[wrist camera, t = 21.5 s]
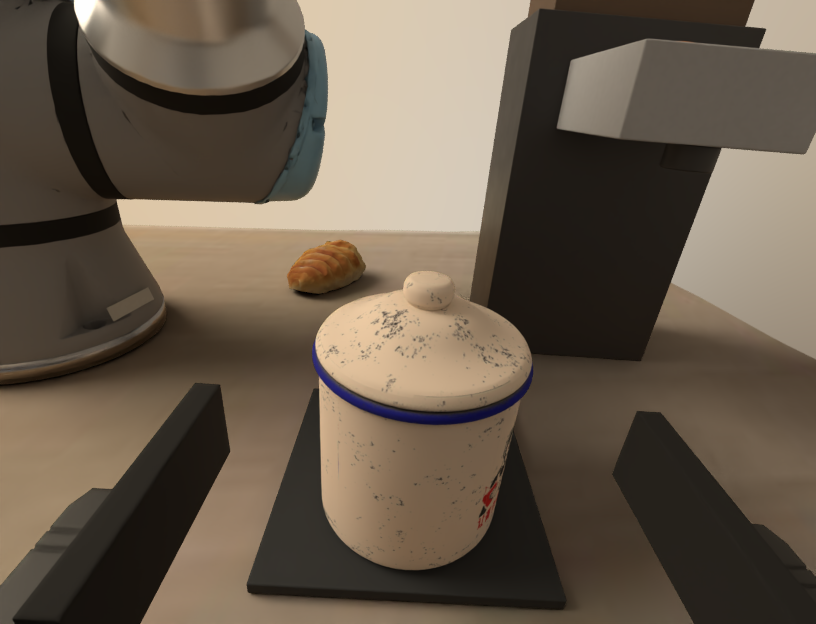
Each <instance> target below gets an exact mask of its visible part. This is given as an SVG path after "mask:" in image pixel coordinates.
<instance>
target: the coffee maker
mask: <svg viewBox="0 0 816 624" xmlns="http://www.w3.org/2000/svg"><path fill="white" fill-rule="evenodd" d="M753 3H754V0H531V2H530V7H529V14H528V18H526V19H525V20H524V21H522V22H521V23H520V24H518V25H517V26H516V27H515V28H513V29H512V30H511V35H510V42H509V48H508V55H507V61H506V67H505V75H504V81H503V87H502V93H501V101H500V107H499V113H498V120H497V126H496V133H495V139H494V146H493V152H492V159H491V165H490V172H489V178H488V185H487V192H486V198H485V205H484V211H483V217H482V224H481V230H480V237H479V243H478V250H477V256H476V263H475V269H474V276H473V282H472V289H471V296H470V302H473V303H476V304H478V305H481V306H483V307H486V308H488V309H490V310H492V311H494V312H495V313H497V314H499V315H500V316H502V317H504V318H505V319H506V320H508V321H509V322H510V323H511V324H512V325H514V326H515V327H516V328H517V329H518V331H519V332H520V333H521V334H522V336H523V337H524V339H525V340H526V342H527V344H528V347H529V349H530V352H531V353H535V354H550V355H564V356H579V357H594V358H608V359H623V360H638V361H641V359H642V357H643V354H644V351H645V349H646V346H647V344H648V341H649V338H650V336H651V333H652V330H653V328H654V325H655V322H656V320H657V317H658V314H659V312H660V309H661V306H662V304H663V301H664V299H665V296H666V293H667V291H668V288H669V285H670V283H671V280H672V277H673V275H674V272H675V269H676V267H677V264H678V261H679V258H680V256H681V254H682V251H683V248H684V246H685V243H686V240H687V238H688V235H689V232H690V230H691V227H692V224H693V222H694V219H695V216H696V214H697V211H698V208H699V206H700V203H701V201H702V198H703V195H704V193H705V190H706V187H707V185H708V182H709V179H710V177H711V174H712V172H713V170H714V167H715V164H716V162H717V159H718V156H719V154H720V151H721V148H731V149H743V150H755V151H768V152H780V153H792V154H805V153H806V152H807V150H808V148H809V145H810V143H811V141H812V139H813V137H814V135H815V133H816V53H806V52H794V51H783V50H772V49H760V48H759V47H760V44H761V42H762V39H763V36H764V34H765V31H766V29H764V28H754V27H745V25H746V23H747V20H748V17H749V14H750V12H751V9H752V6H753Z"/></svg>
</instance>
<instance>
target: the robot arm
mask: <svg viewBox="0 0 816 624" xmlns="http://www.w3.org/2000/svg"><path fill="white" fill-rule="evenodd" d="M327 98H328V74H327V63H326V56H325V50H324V47H323V44H322V42H321V40H320V39H319V37H318V36H316V35H315V34H313V33H309V32H308V31H307V30H305V25H304V19H303V15H302V12H301V9H300V7H299V5H298V3H297V0H0V385H1V384H13V383H21V382H29V381H35V380H41V379H46V378H51V377H56V376H60V375H64V374H68V373H72V372H76V371H79V370H82V369H86V368H89V367H92V366H95V365H98V364H101V363H103V362H106V361H108V360H111V359H113V358H116V357H118V356H120V355H122V354H124V353H126V352H128V351H130V350H132V349H134V348H136V347H138V346H139V345H141V344H142V343H144V342H145V341H147V340H148V339H150V338H151V337H152V336H153V335H155V334H156V333H157V332H158V331H159V330H160V328H161V327H162V326H163V324H164V323H165V320H166V317H167V311H166V306H165V301H164V296H163V294H162V292H161V289H160V287H159V285H158V283H157V282H156V280H155V279H154V277H153V276H152V274H151V272H150V271H149V269H148V268H147V266H146V264H145V263H144V261H143V260H142V258H141V256H140V255H139V253H138V252H137V250H136V248H135V247H134V245H133V244H132V242H131V241H130V239H129V237H128V236H127V234H126V233H125V231H124V228H123V226H122V222H121V218H120V214H119V210H118V205H117V201H116V199H148V200H149V199H150V200H151V199H152V200H180V201H213V202H246V203H255V204H264V203H267V202H269V201H292V200H298V199H300V198H302V197H304V196H305V195H306V194H308V193H309V191H310V190H311V189H312V187H313V185H314V183H315V181H316V178H317V175H318V171H319V168H320V163H321V158H322V153H323V146H324V138H325V137H324V136H325V131H324V122H325V119H326V112H327V101H328V99H327ZM229 453H230V447H229V440H228V434H227V427H226V420H225V414H224V407H223V400H222V394H221V387H220V385H218V384H203V383H195V384H194V385H193V386H192V388H191V389H190V390H189V392H188V393H187V394H186V395H185V397H184V398H183V399H182V401H181V402H180V403H179V404H178V406H177V407H176V408H175V410H174V411H173V412H172V413H171V415H170V416H169V417H168V419H167V420H166V421H165V422H164V424H163V425H162V426H161V428H160V429H159V430H158V431H157V433H156V434H155V435H154V437H153V438H152V439H151V440H150V442H149V443H148V444H147V446H146V447H145V448H144V449H143V451H142V452H141V453H140V455H139V456H138V457H137V458H136V460H135V461H134V462H133V464H132V465H131V466H130V467H129V469H128V470H127V471H126V473H125V474H124V475H123V476H122V478H121V479H120V480H119V482H118V483H117V484H116V485H115V487H114V488H113V489H99V488H92V489H91V490H90V491H88V492H87V493H85V494H84V495H83V496H81V497H80V498H79V499H77V500H76V501H74V502H73V503H72V504H70V505H69V506H68V507H67V508H66V509H65V511H64V512H63V513H62V514H61V515H60V516H59V518H58V519H57V520H56V521H55V522H54V523H53V525H52V526H51V528H50V531H47V532H46V533H45V534H44V535H43V536H42V538H41V539H40V540H39V541H38V542H37V543H36V545H35V548H34V549H31V550H30V552H29V553H28V554H27V555H26V556H25V557H24V559H23V560H22V561H21V562H20V563H19V564H18V566H17V567H16V568H15V569H14V570H13V571H12V573H11V574H10V575H9V576H8V577H7V578H6V580H5V581H4V582H3V583H2V584H1V585H0V624H140V623H141V621H142V619H143V617H144V615H145V614H146V612H147V610H148V608H149V606H150V604H151V602H152V600H153V598H154V596H155V594H156V593H157V591H158V589H159V587H160V585H161V583H162V581H163V579H164V577H165V575H166V573H167V571H168V570H169V568H170V566H171V564H172V562H173V560H174V558H175V556H176V554H177V552H178V550H179V548H180V547H181V545H182V543H183V541H184V539H185V537H186V535H187V533H188V531H189V529H190V527H191V525H192V524H193V522H194V520H195V518H196V516H197V514H198V512H199V510H200V508H201V506H202V504H203V502H204V501H205V499H206V497H207V495H208V493H209V491H210V489H211V487H212V485H213V483H214V481H215V479H216V478H217V476H218V474H219V472H220V470H221V468H222V466H223V464H224V462H225V460H226V458H227V456H228V455H229ZM612 475H613V477H614V478H615V480H616V482H617V484H618V486H619V487H620V489H621V491H622V493H623V495H624V497H625V498H626V500H627V502H628V504H629V506H630V508H631V509H632V511H633V513H634V515H635V517H636V519H637V520H638V522H639V524H640V526H641V528H642V529H643V531H644V533H645V535H646V537H647V539H648V540H649V542H650V544H651V546H652V548H653V550H654V551H655V553H656V555H657V557H658V559H659V561H660V562H661V564H662V566H663V568H664V570H665V571H666V573H667V575H668V577H669V579H670V581H671V582H672V584H673V586H674V588H675V590H676V592H677V593H678V595H679V597H680V599H681V601H682V603H683V604H684V606H685V608H686V610H687V612H688V613H689V615H690V617H691V619H692V621H693V623H694V624H816V577H815V576H814V575H813V573H812V572H811V571H808V570H807V569H806V565H805V564H804V563H803V562H802V561H801V559H800V558H799V557H798V556H797V555H796V554H795V552H794V551H793V550H792V549H791V548H790V547H789V545H788V544H787V543H785V542H784V541H783V540H782V539H780V538H779V537H778V536H777V535H775V534H774V533H773V532H772V531H770V530H769V529H768V528H767V527H765V526H764V525H759V524H751V523H750V521H749V520H748V519H747V518H746V517H745V515H744V514H743V513H742V512H741V510H740V509H739V508H738V507H737V505H736V504H735V503H734V502H733V501H732V499H731V498H730V497H729V496H728V494H727V493H726V492H725V491H724V490H723V488H722V487H721V486H720V485H719V483H718V482H717V481H716V480H715V479H714V477H713V476H712V475H711V474H710V472H709V471H708V470H707V469H706V467H705V466H704V465H703V464H702V463H701V461H700V460H699V459H698V458H697V456H696V455H695V454H694V453H693V452H692V450H691V449H690V448H689V447H688V445H687V444H686V443H685V442H684V441H683V439H682V438H681V437H680V436H679V434H678V433H677V432H676V431H675V429H674V428H673V427H672V426H671V425H670V423H669V422H668V421H667V420H666V418H665V417H664V416H663V415H662V414H661V413H660V412H644V411H637V413H636V415H635V418H634V420H633V423H632V425H631V428H630V430H629V433H628V435H627V438H626V440H625V443H624V445H623V448H622V450H621V453H620V455H619V458H618V460H617V463H616V465H615V468H614V471H613V473H612Z"/></svg>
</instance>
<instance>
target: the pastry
mask: <svg viewBox="0 0 816 624" xmlns="http://www.w3.org/2000/svg"><path fill="white" fill-rule="evenodd" d="M365 268H366V265H365V263H364V262H363V260H362V257H361V255H360V254H359V253H358V251H357V248H356V247H355V246H354V245H352V244H351V243H349V242H346V241H343V240H337V241H334V242H330V241H327V242H326V243H325V245H321V246H318V247H316V248H312V249H309V250H307V251H305V252H304V253H303V255H302V256H301V257H300V258H299V259H298V260H297V261H296V262H295V264H294V265H293V266H292V268H291V270H290V272H289V273H288V275H287V278H288V282H289V289H295V290H299V291H305V292H310V293H319V295H320V294H321V293H327V292H328V291H330V290H337V289H339V288H341V287H343V286H347V285H348V284H350V283H352V281H354V280H355V281H356V280H358V279H359V278H360V276H361V275H362V274H363V272H364V271H365Z"/></svg>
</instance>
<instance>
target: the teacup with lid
mask: <svg viewBox="0 0 816 624" xmlns="http://www.w3.org/2000/svg"><path fill="white" fill-rule="evenodd" d="M454 291H455V286H454V283H453V282H452V280H451V279H450V278H449V277H448V276H446V275H444V274H442V273H438V272H433V271H419V272H415V273H412V274H410V275H409V276H408V277H407V278H406V280H405V282H404V289H401V290H397V291H394V292H391V293H383V294H376V295H372V296H367V297H364V298H360V299H357V300H355V301H352V302H350V303H348V304H346V305H344V306H342V307H340V308H339V309H337V310H336V311H335V312H333V313H332V314H331V315H330V316H329V317H328V318H327V319H326V320H325V321H324V323H323V324H322V326H321V327H320V329H319V331H318V333H317V336H316V339H315V341H314V344H313V350H312V359H313V363H314V367H315V369H316V372H317V374H318V375H319V400H320V442H321V485H322V501H323V507H324V510H325V514H326V516H327V519H328V521H329V523H330V525H331V526H332V528H333V530H334V531H335V532H336V534H337V535H338V536H339V538H340V539H341V540H342V541H343V542H344V543H345V544H346V545H347V546H348V547H350V548H351V549H352V550H353V551H355V552H356V553H357V554H359V555H360V556H362V557H364V558H366V559H368V560H370V561H372V562H374V563H377V564H380V565H383V566H386V567H390V568H395V569H402V570H425V569H431V568H436V567H440V566H443V565H446V564H448V563H451V562H453V561H455V560H457V559H459V558H461V557H462V556H464V555H465V554H466V553H468V552H469V551H470V550H472V549H473V548H474V547H475V546H476V545H477V544H478V543H479V542H480V540H481V539H482V538H483V536H484V535H485V533H486V531H487V529H488V528H489V526H490V523H491V520H492V517H493V513H494V509H495V505H496V501H497V496H498V492H499V488H500V484H501V480H502V475H503V471H504V467H505V463H506V459H507V454H508V450H509V446H510V442H511V438H512V434H513V429H514V425H515V421H516V417H517V413H518V408H519V404H520V400H521V398H522V397H523V396H524V395H525V393H526V392H527V390H528V389H529V387H530V384H531V382H532V377H533V364H532V357H531V352H530V349H529V347H528V344H527V342H526V340H525V339H524V337H523V336H522V334H521V333H520V332H519V331H518V329H517V328H516V327H515V326H514V325H512V324H511V323H510V322H509V321H508V320H506V319H505V318H504V317H502V316H500V315H499V314H497V313H495V312H494V311H492V310H490V309H488V308H486V307H483V306H481V305H478V304H476V303H473V302H470V301H467V300H465V299H463V298H461V297H459V296H457V295H455V294H454Z"/></svg>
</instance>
